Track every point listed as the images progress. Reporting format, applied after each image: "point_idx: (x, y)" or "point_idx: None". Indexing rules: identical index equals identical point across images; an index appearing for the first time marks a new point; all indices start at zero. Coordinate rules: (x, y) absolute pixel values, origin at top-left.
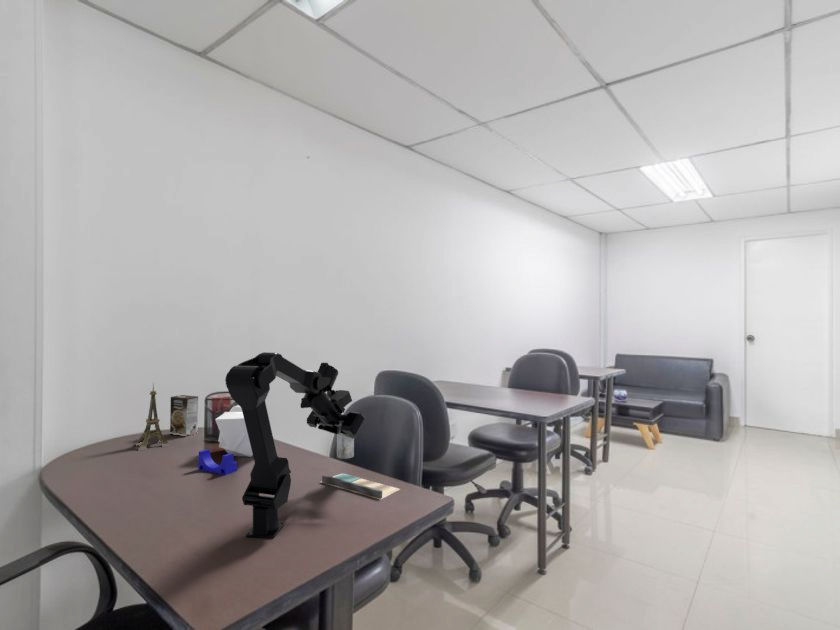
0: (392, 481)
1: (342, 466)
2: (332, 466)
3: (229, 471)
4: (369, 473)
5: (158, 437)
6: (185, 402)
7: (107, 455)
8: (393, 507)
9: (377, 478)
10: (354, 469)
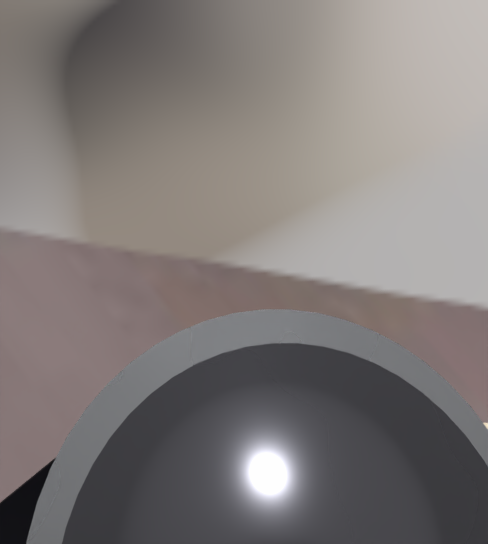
0: (467, 321)
1: (64, 269)
2: (6, 298)
3: None
4: (277, 284)
5: None
6: None
7: None
8: None
9: (368, 325)
10: (160, 275)
